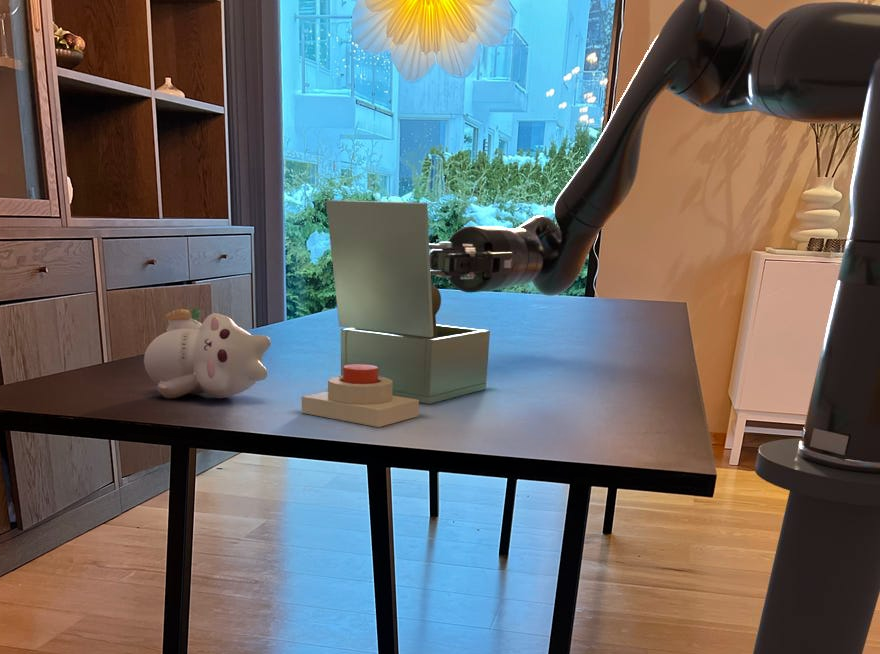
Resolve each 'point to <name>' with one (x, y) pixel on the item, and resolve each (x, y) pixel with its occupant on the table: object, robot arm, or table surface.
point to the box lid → (381, 265)
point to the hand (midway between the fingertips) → (415, 262)
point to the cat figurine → (205, 356)
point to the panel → (361, 403)
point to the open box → (422, 360)
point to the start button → (360, 374)
